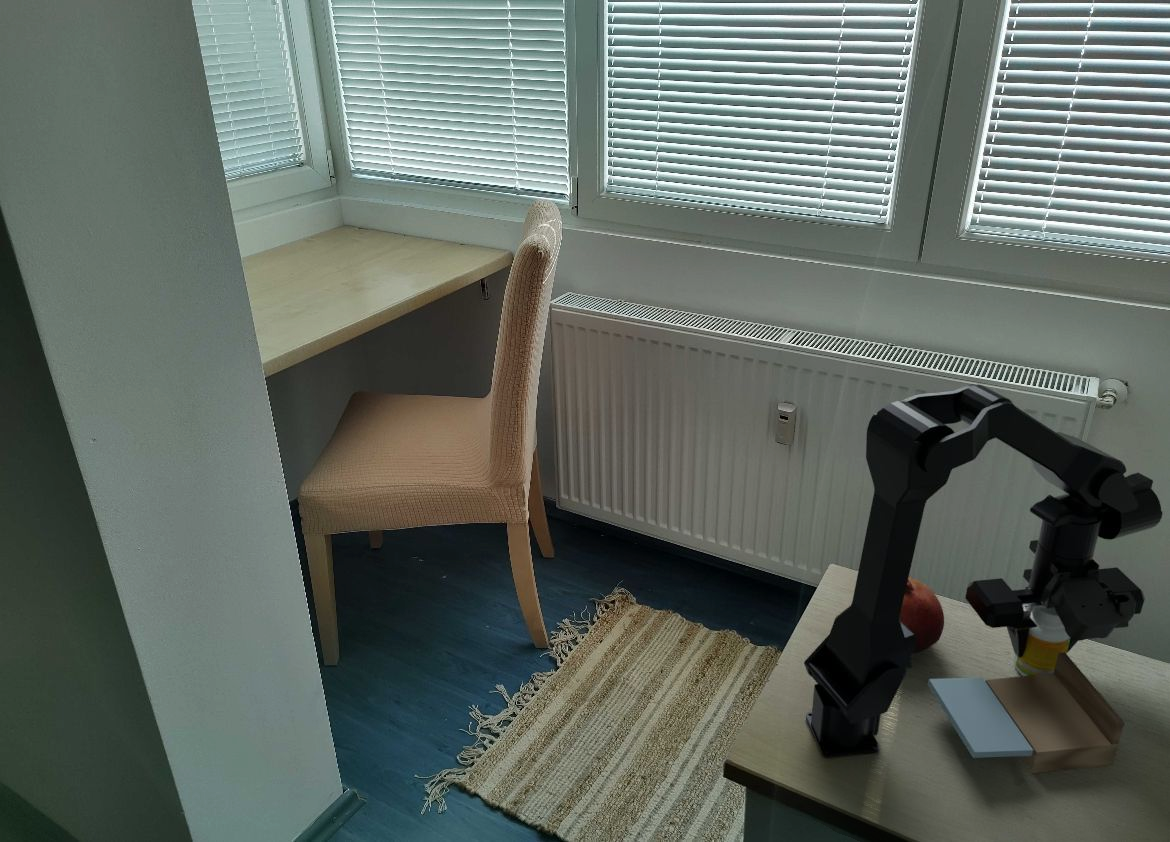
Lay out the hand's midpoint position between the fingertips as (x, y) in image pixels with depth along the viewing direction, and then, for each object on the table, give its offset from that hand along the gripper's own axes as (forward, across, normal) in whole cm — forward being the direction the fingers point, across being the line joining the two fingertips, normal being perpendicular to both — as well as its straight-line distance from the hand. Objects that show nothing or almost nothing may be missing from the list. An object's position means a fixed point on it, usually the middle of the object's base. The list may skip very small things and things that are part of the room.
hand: (1040, 652), depth 109 cm
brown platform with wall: (+2, -4, -10) cm, 11 cm away
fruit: (+3, -15, +7) cm, 17 cm away
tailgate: (0, -9, -10) cm, 13 cm away
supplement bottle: (+3, 0, 0) cm, 3 cm away
